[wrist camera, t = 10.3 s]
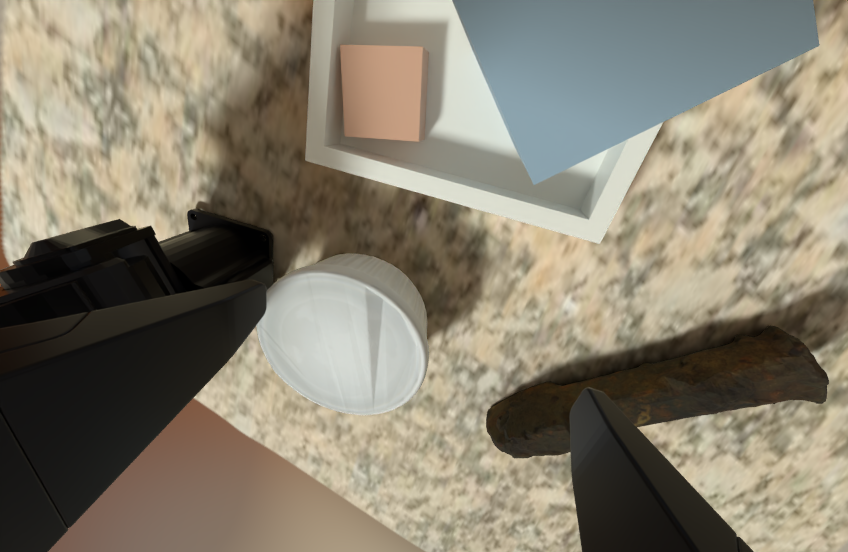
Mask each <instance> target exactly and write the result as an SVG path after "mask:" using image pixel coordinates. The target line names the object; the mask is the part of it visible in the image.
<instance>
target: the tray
mask: <svg viewBox="0 0 848 552" xmlns="http://www.w3.org/2000/svg"><path fill="white" fill-rule="evenodd" d="M340 45H378V46H419V47H424V48H425V49H426V50H427V51H428V52H429V64H428V84H427V105H426V125H425V140H423V141H419V142H416V141H402V140H388V139H375V138H361V137H347V136H345V132H344V112H343V93H342V73H341V54H340ZM662 123H663V122H662ZM662 123H660V124H658V125H656V126H654V127H652V128H650V129H648V130H646V131H644V132H642V133H640V134H638V135H636V136H633V137H631V138H629V139H627V140H625V141H623V142H621V143H619V144H617V145H615V146H613V147H611V148H609V149H607V150H605V151H603V152H601V153H599V154H597V155H595V156H593V157H591V158H589V159H586V160H584V161H582V162H580V163H578V164H576V165H574V166H572V167H570V168H568V169H566V170H564V171H562V172H560V173H558V174H556V175H554V176H552V177H550V178H548V179H546V180H544V181H541V182H539V183H537V184H535V185H534V184H533V182H532V180H531V178H530V176H529V174H528V172H527V170H526V168H525V166H524V164H523V162H522V161H521V159H520V157H519V155H518V153H517V151H516V149H515V147H514V144H513V142H512V140H511V137H510V135H509V133H508V131H507V128H506V126H505V124H504V121H503V119H502V117H501V115H500V112H499V110H498V108H497V105H496V103H495V101H494V99H493V96H492V94H491V92H490V89H489V87H488V85H487V83H486V80H485V78H484V76H483V73H482V71H481V69H480V67H479V64H478V62H477V60H476V57H475V55H474V53H473V51H472V48H471V46H470V43H469V41H468V38H467V36H466V33H465V31H464V28H463V26H462V24H461V21H460V19H459V16H458V14H457V11H456V9H455V6H454V4H453V1H452V0H313V16H312V36H311V56H310V75H309V95H308V114H307V134H306V154H305V161H308V162H311V163H315V164H318V165H322V166H325V167H329V168H333V169H336V170H340V171H343V172H347V173H350V174H354V175H357V176H361V177H364V178H368V179H371V180H375V181H379V182H382V183H386V184H389V185H393V186H396V187H400V188H403V189H407V190H410V191H414V192H418V193H421V194H425V195H428V196H432V197H435V198H439V199H442V200H446V201H449V202H453V203H456V204H460V205H464V206H467V207H471V208H474V209H478V210H481V211H485V212H488V213H492V214H495V215H499V216H503V217H506V218H510V219H513V220H517V221H520V222H524V223H527V224H531V225H534V226H538V227H541V228H545V229H549V230H552V231H556V232H559V233H563V234H566V235H570V236H573V237H577V238H580V239H584V240H587V241H591V242H595V243H598V244H600V242H601V240H602V239H603V237H604V235H605V233H606V231H607V229H608V227H609V225H610V223H611V221H612V219H613V217H614V216H615V214H616V212H617V210H618V208H619V206H620V204H621V202H622V200H623V198H624V196H625V194H626V192H627V191H628V189H629V187H630V185H631V183H632V181H633V179H634V177H635V175H636V173H637V171H638V169H639V167H640V166H641V164H642V162H643V160H644V158H645V156H646V154H647V152H648V150H649V148H650V146H651V144H652V143H653V141H654V139H655V137H656V135H657V133H658V131H659V129H660V127H661V125H662Z"/></svg>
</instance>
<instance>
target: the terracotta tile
mask: <svg viewBox="0 0 848 552" xmlns="http://www.w3.org/2000/svg"><path fill="white" fill-rule="evenodd" d="M340 54H341V73H342V93H343V112H344V132H345V136H347V137H361V138H375V139H388V140H402V141H416V142H419V141H423V140H425V125H426V105H427V84H428V64H429V52H428V51H427V50H426V49H425V48H424V47H419V46H378V45H340Z"/></svg>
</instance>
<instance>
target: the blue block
mask: <svg viewBox="0 0 848 552" xmlns="http://www.w3.org/2000/svg"><path fill="white" fill-rule="evenodd" d="M452 1H453V4H454V6H455V9H456V11H457V14H458V16H459V19H460V21H461V24H462V26H463V28H464V31H465V33H466V36H467V38H468V41H469V43H470V46H471V48H472V51H473V53H474V55H475V57H476V60H477V62H478V64H479V67H480V69H481V71H482V73H483V76H484V78H485V80H486V83H487V85H488V87H489V89H490V92H491V94H492V96H493V99H494V101H495V103H496V105H497V108H498V110H499V112H500V115H501V117H502V119H503V121H504V124H505V126H506V128H507V131H508V133H509V135H510V137H511V140H512V142H513V144H514V147H515V149H516V151H517V153H518V155H519V157H520V159H521V161H522V162H523V164H524V166H525V168H526V170H527V172H528V174H529V176H530V178H531V180H532V182H533V184H534V185H535V184H537V183H539V182H541V181H544V180H546V179H548V178H550V177H552V176H554V175H556V174H558V173H560V172H562V171H564V170H566V169H568V168H570V167H572V166H574V165H576V164H578V163H580V162H582V161H584V160H586V159H589V158H591V157H593V156H595V155H597V154H599V153H601V152H603V151H605V150H607V149H609V148H611V147H613V146H615V145H617V144H619V143H621V142H623V141H625V140H627V139H629V138H631V137H633V136H636V135H638V134H640V133H642V132H644V131H646V130H648V129H650V128H652V127H654V126H656V125H658V124H660V123H662V122H664V121H666V120H668V119H670V118H672V117H674V116H676V115H678V114H681V113H683V112H685V111H687V110H689V109H691V108H693V107H695V106H697V105H699V104H701V103H703V102H705V101H707V100H709V99H711V98H713V97H715V96H717V95H719V94H721V93H723V92H726V91H728V90H730V89H732V88H734V87H736V86H738V85H740V84H742V83H744V82H746V81H748V80H750V79H752V78H754V77H756V76H758V75H760V74H762V73H764V72H766V71H768V70H771V69H773V68H775V67H777V66H779V65H781V64H783V63H785V62H787V61H789V60H791V59H793V58H795V57H797V56H799V55H801V54H803V53H805V52H807V51H809V50H811V49H813V48H815V47H818V46H819V40H818V33H817V25H816V18H815V11H814V4H813V0H452Z"/></svg>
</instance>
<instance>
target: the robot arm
mask: <svg viewBox="0 0 848 552" xmlns="http://www.w3.org/2000/svg"><path fill="white" fill-rule="evenodd" d="M195 215H196V216H195ZM187 216H188V224H189V231H188V232H185V233H182V234H179V235H177V236H174V237H171V238H169V239H166V240H163V241H160V242H158V241H157V239H156V237H155V236H154V235H156V234H155V232H154V230H153V228H152V227H151V226H147V227H143V228H139V229H137V228H136V226H130V225H128V224H127V223H125V222H124V221H122V220H120V219H118V220H114V221H110V222H106V223H103V224H99V225H95V226H91V227H88V228H84V229H80V230H77V231H73V232H69V233H66V234H62V235H58V236H55V237H51V238H48V239H44V240H40V241H37V242H33V243H31V245H30V247H29V249H28V251H27V253H26V254H25V256H24V258H21V259H19V260H16V261H13V264H14V265H12V266H10V267H7V268H5V269H2V270H0V283H1V286H0V552H48V551H49V550H50V549H51V548H52V546H54V544H56V542H57V541H58V540H59V539H60V538H61V537H62V536H63V535H64V534H65V533H66V532H67V531H68V528H69V527H71V526H72V525H73V524H74V523H75V522H76V521H77V520H78V519H79V518H80V517H81V516H82V515H83V514H84V513H85V511H86V510H87V509H88V508H89V507H90V506H91V505H92V504H93V503H94V502H95V501H96V500H97V499H98V498H99V497H100V495H102V494H103V492H104V491H105V490H106V489H107V488H108V487H109V486H110V485H111V484H112V483H113V482H114V481H115V480H116V479H117V478H118V477H119V476H120V475H121V474H122V472H123V471H124V470H125V469H126V468H127V467H128V466H129V465H130V464H131V463H132V462H133V461H134V460H135V459H136V458H137V457H138V456H139V455H140V453H141V452H142V451H143V450H144V449H145V448H146V447H147V446H148V445H149V444H150V443H151V442H152V441H153V440H154V439H155V438H156V436H158V435H159V433H160V432H161V431H162V430H163V429H164V428H165V427H166V426H167V425H168V424H169V423H170V422H171V421H172V420H173V419H174V418H175V417H176V415H177V414H178V413H179V412H180V411H181V410H182V409H183V408H184V407H185V406H186V405H187V404H188V403H189V402H190V401H191V400H192V399H193V398H194V397H195V396H196V394H197V393H198V392H199V391H200V390H201V389H202V388H203V387H204V386H205V385H206V384H207V383H208V382H209V381H210V380H211V379H212V378H213V377H214V375H215V374H216V373H217V372H218V371H219V370H220V369H221V368H222V367H223V366H224V365H225V364H226V363H227V362H228V361H229V359H230V358H231V357H232V356H233V355H234V354H235V352H236V351H237V350H238V348H239V347H240V346H241V345H242V343H243V342H244V341H245V339H246V338H247V337H248V335H249V334H250V333H251V332H252V330H253V329H254V328H255V326H256V325H257V324H258V322H259V321H260V320H261V319H262V317H263V316H264V314H265V312H266V308H267V290H268V289H269V288H270V287H271V286H272V285H273V261H272V253H273V238H272V234H271V233H270V232H269V231H268V230H265V229H262V228H259V227H255V226H252V225H249V224H245V223H242V222H239V221H236V220H232V219H229V218H226V217H222V216H219V215H216V214H213V213H209V212H206V211H203V210H199V209H192V210H189V211H188V213H187ZM263 235H264V236H265V237H266V239H265V238H264V237H263ZM570 445H571V472H572V482H573V489H574V496H575V504H576V511H577V518H578V525H579V532H580V539H581V546H582V552H753V550H752V549H751V548H750V547H749V546H748V545H747V544H746V543H745V542H744V541H743V540H742V539H741V538H740V537H737V535H736V533H735V531H734V530H733V529H732V528H731V527H730V526H729V525H728V524H727V523H726V522H725V521H724V520H723V519H722V518H721V516H720V515H719V514H718V513H717V512H716V511H715V510H714V509H713V508H712V507H711V506H710V505H709V504H708V503H707V502H706V501H705V499H704V498H703V497H702V496H701V495H700V494H699V493H698V492H697V491H696V490H695V489H694V488H693V487H692V486H691V485H690V483H689V482H688V481H687V480H686V479H685V478H684V477H683V476H682V475H681V474H680V473H679V472H678V471H677V470H676V469H675V468H674V466H673V465H672V464H671V463H670V462H669V461H668V460H667V459H666V458H665V457H664V456H663V455H662V454H661V453H660V452H659V451H658V449H657V448H656V447H655V446H654V445H653V444H652V443H651V442H650V441H649V440H648V439H647V438H646V437H645V436H644V435H643V433H642V432H641V431H640V430H639V429H638V428H637V427H636V426H635V425H634V424H633V423H632V422H631V421H630V420H629V419H628V418H627V416H626V415H625V414H624V413H623V412H622V411H621V410H620V409H619V408H618V407H617V406H616V405H615V404H614V403H613V402H612V401H611V399H610V398H609V397H608V396H607V395H606V394H605V393H604V392H602V391H599V390H596V389H593V388H590V387H587V388H585V389H584V390H583V391H582V392H581V394H580V396H579V397H578V399H577V400H576V402H575V403H574V405H573V406H572V408H571V411H570Z"/></svg>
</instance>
